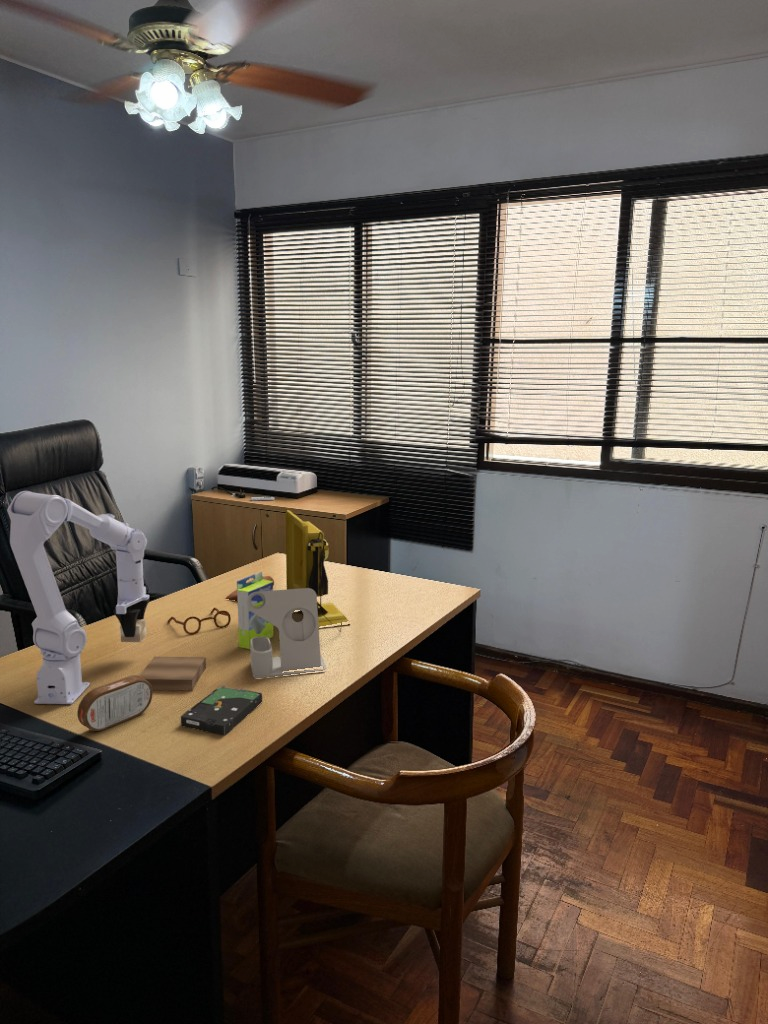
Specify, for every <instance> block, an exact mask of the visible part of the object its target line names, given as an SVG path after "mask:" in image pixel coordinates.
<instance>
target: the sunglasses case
mask: <svg viewBox="0 0 768 1024" xmlns="http://www.w3.org/2000/svg"><path fill="white" fill-rule="evenodd" d="M262 579H264V580H269V581H273V586H274V585H275V580H274V578H273V577H272V576H269V575H266V576H265V575H264V576H262ZM253 580H254V579H252V580H250V581H249V580H248V581H246V583H248V582H251V581H253ZM224 599H229V600H235V601H238V596H237V589H235V590H233V591H232V592H231V593H230V594H229V595H227V596H226V597H225V598H224ZM229 600H228V601H229ZM235 601H234V602H235Z"/></svg>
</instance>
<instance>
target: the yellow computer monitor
mask: <svg viewBox="0 0 768 1024" xmlns="http://www.w3.org/2000/svg"><path fill="white" fill-rule="evenodd" d="M324 535H325V533H324V532H323V531H322V530H320V529H319V528H318V527H317V526H315V525H314V524H313V523H311V521H303V519H301V518H299V517H298V516H297V515H296V514H295V513H293V512H292V511H291V510H290V509H289V510H288V509H287V510H285V549H286V550H285V561H286V562H285V564H286V566H285V567H286V569H285V570H286V572H285V574H286V575H285V576H286V580H285V581H286V590H287V589H302V588H310V589H313V590H314V591H315V593H316V595H317V598H319V600H317V610H318V625H319V627H320V626H326V625H332V624H337V623H341V626H340V627H343V626H342V622H347V621H349V619H348V618H347V616H345V614H343V613H342V611H341V610H340V609H338V608H337V606H336V605H335V604H334V603H333V602H327V603H326V602H325V603H322V597H323V596H327V595H329V579H328V576H327V571H326V567H325V563H324V562H325V561H326V560H328V558H329V554H330V552H329V543H328V542H327V540H326V539H325V537H324ZM303 618H304V614H303V613H302V619H303ZM339 632H340V633H341V632H342V628H340V630H339Z"/></svg>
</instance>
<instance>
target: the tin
mask: <svg viewBox="0 0 768 1024" xmlns="http://www.w3.org/2000/svg"><path fill="white" fill-rule="evenodd" d="M153 691H154V690H152V686H151V684H150V683H149V682H148V681H147V680H145V679H144V678H143V677H141V676H140V675H137V674H132V675H129V676H126V677H123V678H121V679H117V680H115V681H114V680H113V681H111V682H108V683H105V684H103V685H99V686H95V687H94V688H92V689H91V690H89V691H88V692H87V693H86V694H85V695H84V696H83V697H82V699H81V700H80V701H79V704H78V707H77V712H76V715H77V719H78V721H79V723H80V724H81V725H82V726H83V727H85V728H87V729H88V730H90V731H95V732H100V731H104V730H107V729H109V728H112V727H114V726H117V725H120V724H122V723H124V722H127V721H129V720H132V719H134V718H136V717H139V716H140V715H142V714H144V712H145V711H146V710H147V709H148V708H149V706H150V705H151V702H152V700H153V699H152V698H153V693H154V692H153Z"/></svg>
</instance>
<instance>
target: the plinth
mask: <svg viewBox="0 0 768 1024" xmlns="http://www.w3.org/2000/svg"><path fill="white" fill-rule="evenodd" d="M206 659H207V658H206V657H205V656H200V657H199V656H154V657H153V658H152V659H151V660H149V661H150V662H149V663H148V664H147V665H146V666H145V668H144V669H143V670H142V672H141V673H140V674H139V676H141V677H143V678H144V679H145V680H147V681H148V682H149V683H150V684H151V686H152V691H193V690H194V689H195V686H197V684H198V682H199V680H200V678H201V676H202V675H203V673H204V672H205V670H206V668H207V660H206Z"/></svg>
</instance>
